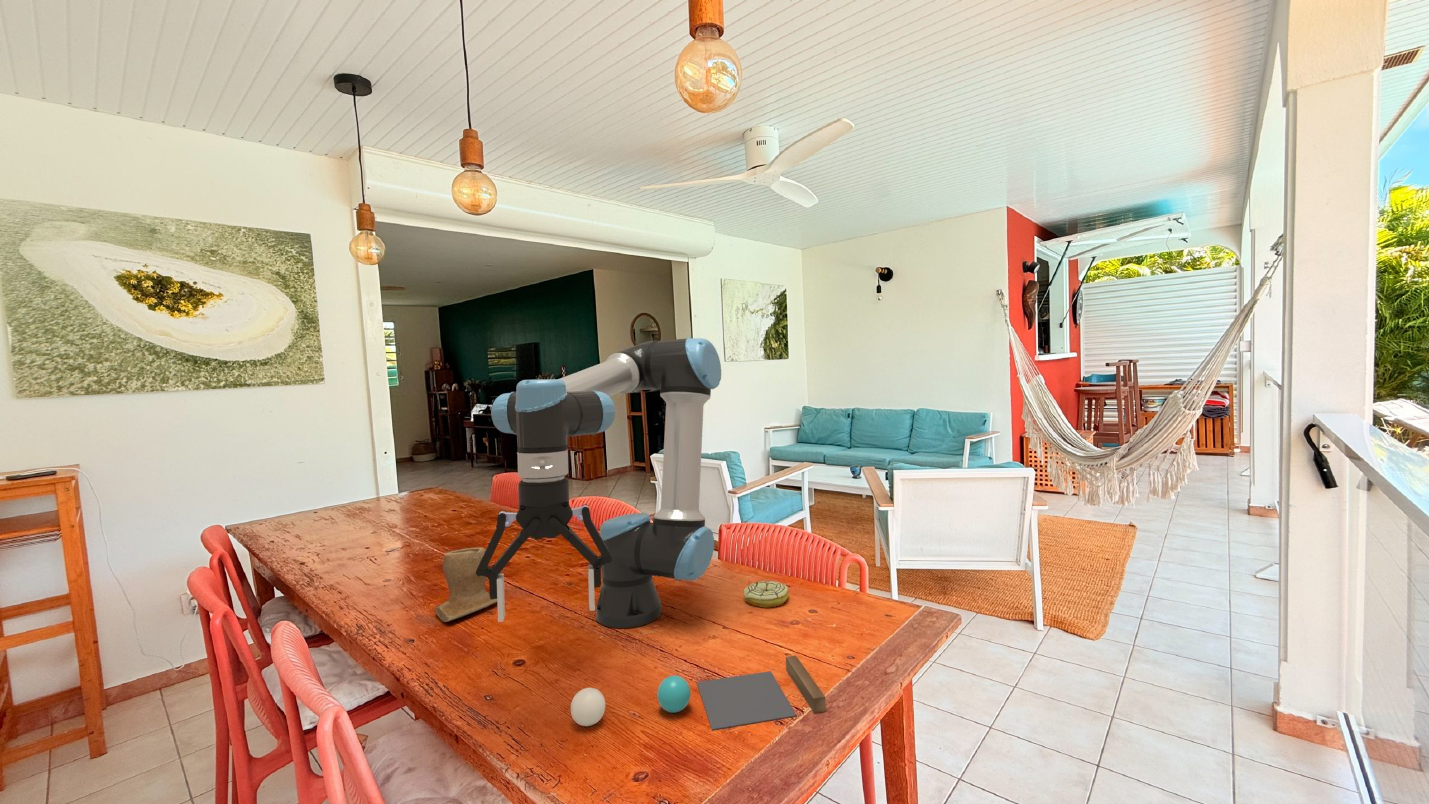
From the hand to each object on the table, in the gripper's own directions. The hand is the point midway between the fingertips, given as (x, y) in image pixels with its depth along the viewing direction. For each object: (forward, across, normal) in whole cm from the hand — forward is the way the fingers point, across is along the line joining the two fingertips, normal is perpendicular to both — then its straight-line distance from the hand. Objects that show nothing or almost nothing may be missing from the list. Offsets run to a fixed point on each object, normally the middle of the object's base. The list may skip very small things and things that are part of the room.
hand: (547, 613), depth 89 cm
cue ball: (+16, +6, +1) cm, 17 cm away
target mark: (+19, +32, -1) cm, 37 cm away
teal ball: (+16, +20, 0) cm, 26 cm away
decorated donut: (+18, +50, +37) cm, 65 cm away
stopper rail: (+18, +43, -1) cm, 47 cm away
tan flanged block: (+19, -21, +57) cm, 64 cm away
